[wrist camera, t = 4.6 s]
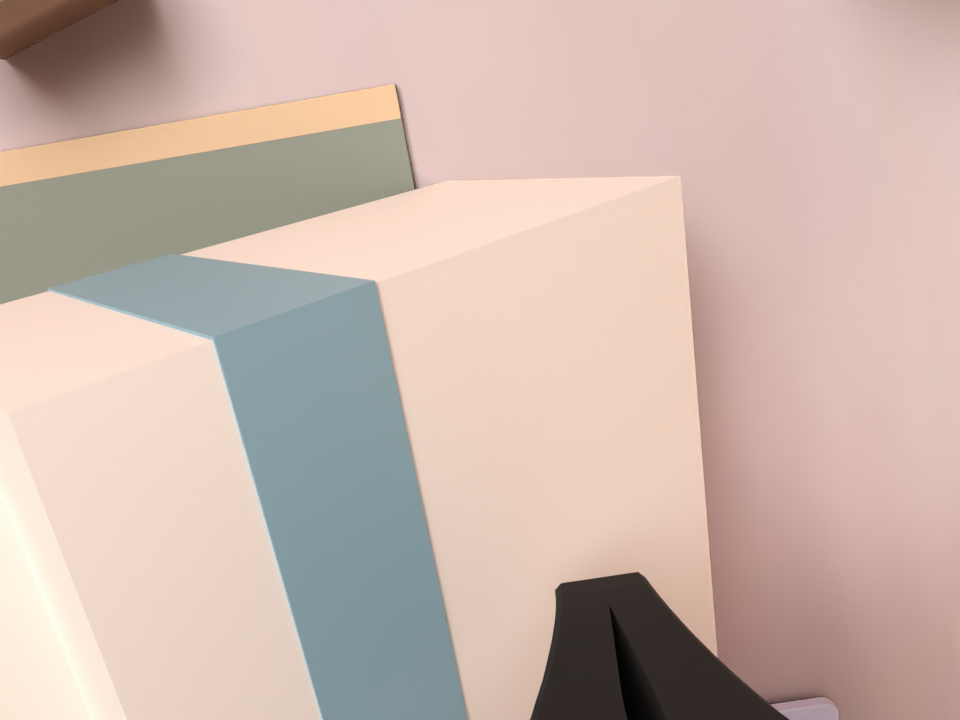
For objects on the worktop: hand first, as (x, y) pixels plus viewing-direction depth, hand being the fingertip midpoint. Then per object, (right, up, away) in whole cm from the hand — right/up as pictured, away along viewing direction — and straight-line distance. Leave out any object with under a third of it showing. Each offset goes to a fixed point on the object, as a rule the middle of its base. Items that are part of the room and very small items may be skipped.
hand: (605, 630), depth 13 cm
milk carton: (0, +3, +7) cm, 8 cm away
